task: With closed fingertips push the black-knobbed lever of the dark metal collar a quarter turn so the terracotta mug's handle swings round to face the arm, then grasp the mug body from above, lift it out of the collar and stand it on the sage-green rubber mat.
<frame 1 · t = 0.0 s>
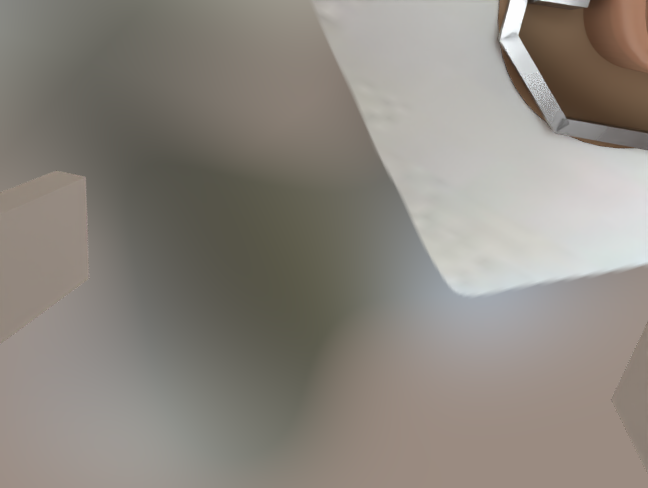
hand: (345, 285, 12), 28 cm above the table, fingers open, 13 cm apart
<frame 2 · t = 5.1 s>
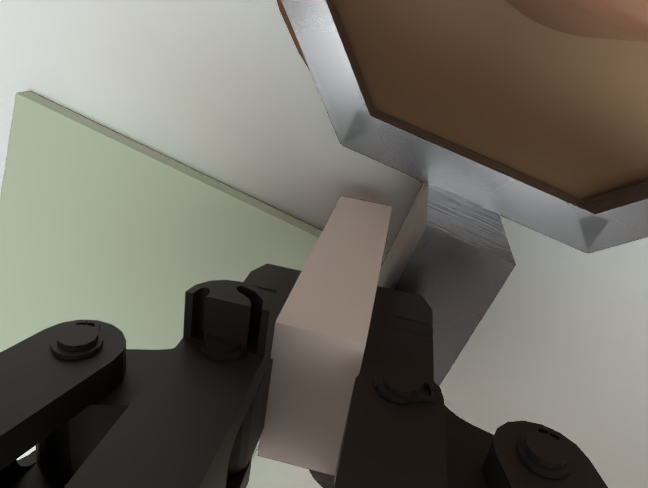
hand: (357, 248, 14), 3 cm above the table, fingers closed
mat: (148, 309, 20), on the table
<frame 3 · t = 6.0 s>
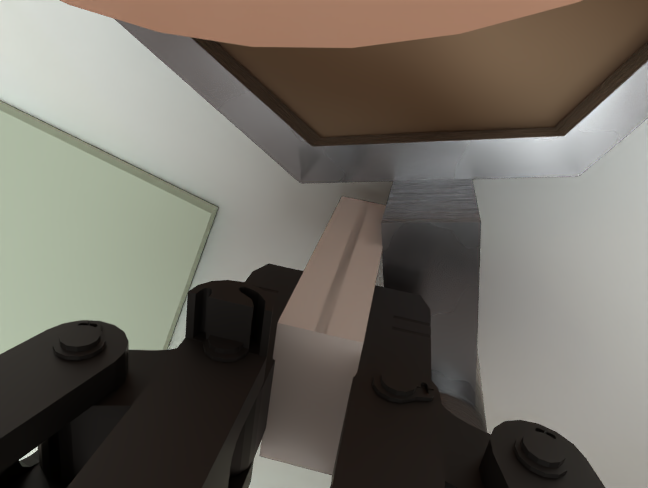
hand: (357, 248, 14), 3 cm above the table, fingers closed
mat: (30, 270, 20), on the table
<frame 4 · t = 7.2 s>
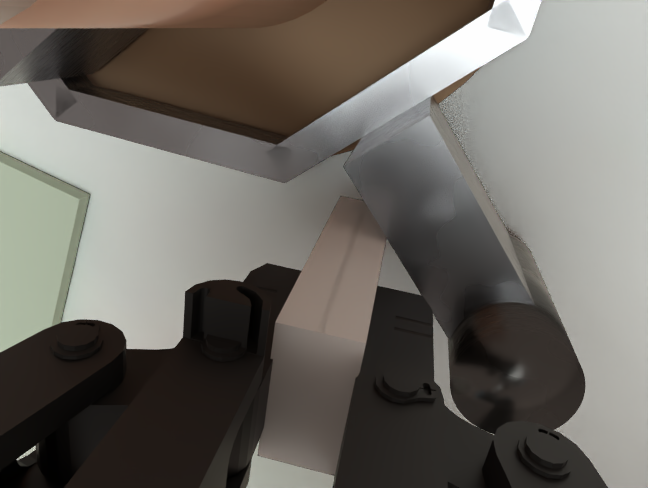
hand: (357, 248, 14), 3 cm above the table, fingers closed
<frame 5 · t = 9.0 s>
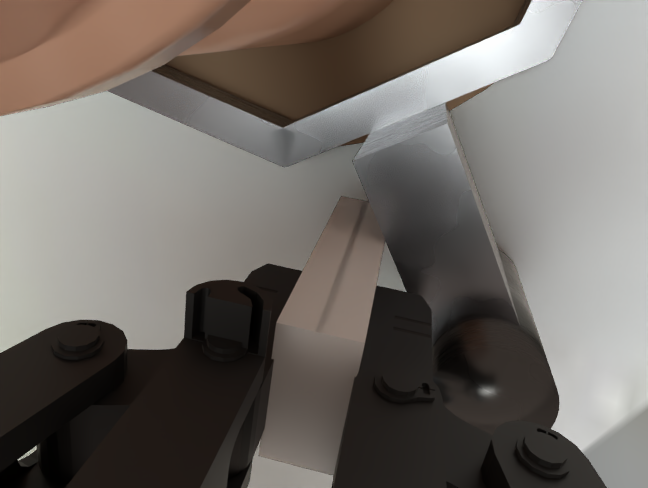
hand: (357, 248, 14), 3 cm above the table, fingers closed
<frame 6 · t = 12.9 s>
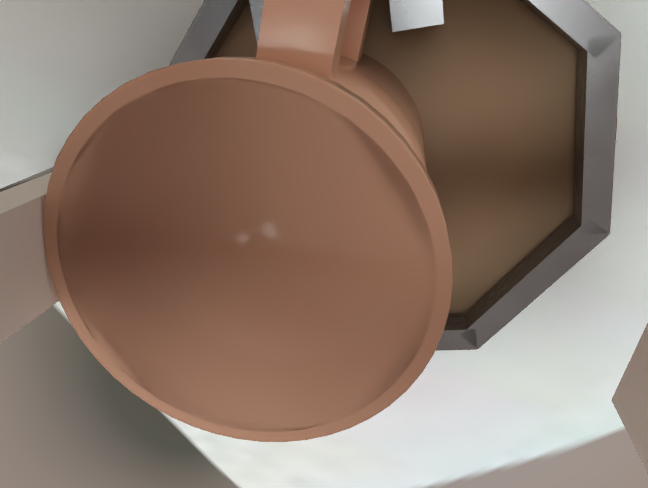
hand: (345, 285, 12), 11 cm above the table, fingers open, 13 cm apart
base plate: (377, 152, 22), on the table
terracotta mug: (325, 148, 22), point 1 cm above the table, touching base plate
collar: (278, 186, 20), point 4 cm above the table, hinge at 95.2°
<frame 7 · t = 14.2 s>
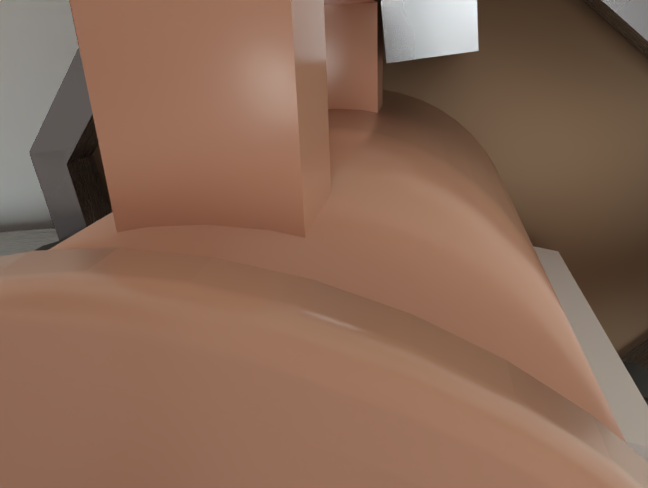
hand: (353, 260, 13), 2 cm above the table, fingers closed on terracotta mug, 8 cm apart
base plate: (367, 227, 15), on the table
terracotta mug: (360, 235, 15), point 1 cm above the table, touching collar, gripper
collar: (211, 290, 13), point 4 cm above the table, hinge at 94.7°, touching terracotta mug
when the fingers open (3 cm above the table, at t = 20.3 s): terracotta mug drops 1 cm, resting on mat.
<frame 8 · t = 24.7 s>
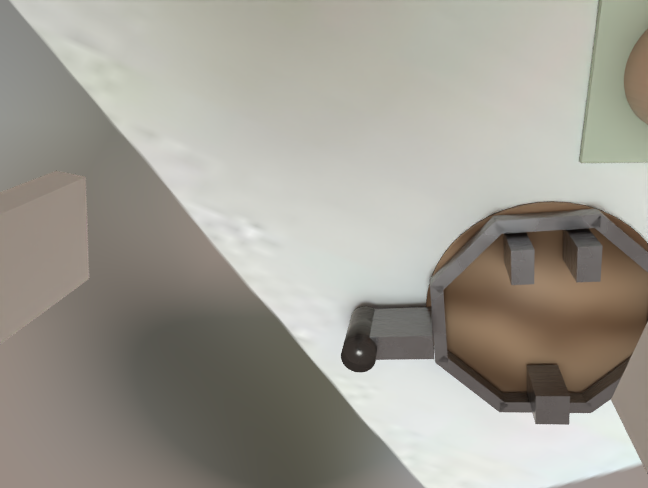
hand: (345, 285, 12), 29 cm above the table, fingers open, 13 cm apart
base plate: (540, 309, 42), on the table
collar: (502, 334, 40), point 4 cm above the table, hinge at 94.7°
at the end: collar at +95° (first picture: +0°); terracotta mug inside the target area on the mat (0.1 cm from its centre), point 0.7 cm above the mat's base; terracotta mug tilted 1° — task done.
